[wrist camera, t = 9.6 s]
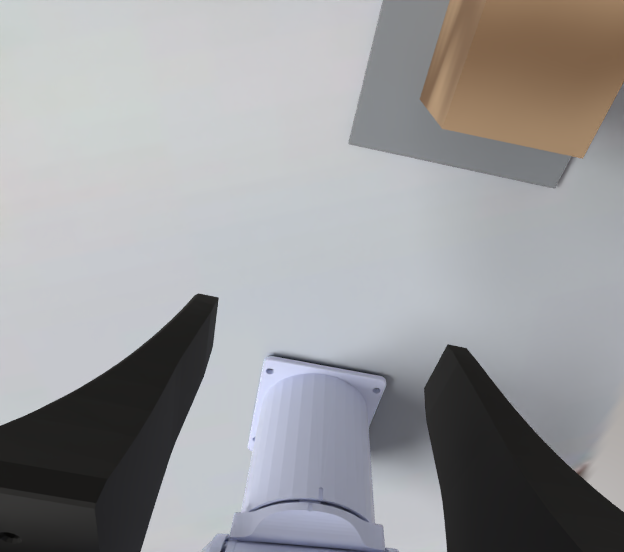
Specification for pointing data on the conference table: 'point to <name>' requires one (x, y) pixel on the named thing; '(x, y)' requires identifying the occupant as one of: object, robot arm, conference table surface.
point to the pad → (414, 115)
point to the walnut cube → (527, 70)
